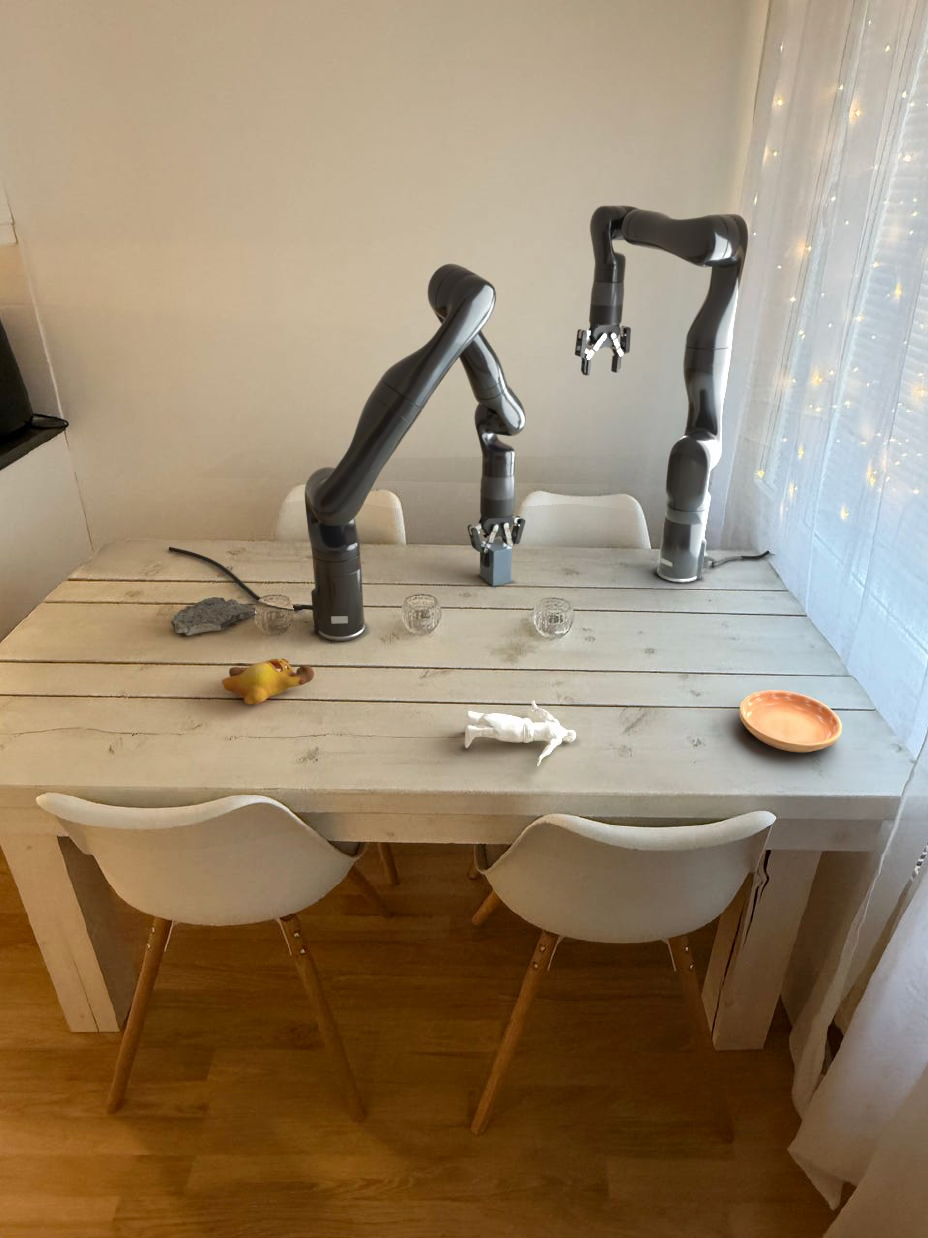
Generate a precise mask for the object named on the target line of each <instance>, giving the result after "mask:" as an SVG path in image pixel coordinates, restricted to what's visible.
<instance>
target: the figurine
mask: <svg viewBox="0 0 928 1238" xmlns="http://www.w3.org/2000/svg"><path fill="white" fill-rule="evenodd" d="M529 707H530V708H531V711H530V713H532V712H535V713H536V714H537V716H538V717H539V719H541V720H543V721H544V722H532V720H531V719H530V718H528V717H522V718H521V717H518V716H514V715H510V714H504V713H496V712H495V713H493V712H490V714H489V713H487V714H486V713H482V712H475V711H472V710H471V711H470V710H468V711H467V712H466V719H465V724H464V732H465V734H464V747H465V748H466V749H468V748H469V747H470V745H471V744H472V742H473V740H474V739H475V738H482V737H483V738H484V737H485V738H492V739H495V740H498V741H499V742H509V743H522V742H523V743H525V744H530V743H531V742H533V741H544V742H547V743H548V744H547V745H546V746H545V748H544V749H543V751H542V752H541V754H540V755H539V757H538V758H537V762H536V767H539V766H540V765H541V761H542V760H543V758H545V757H547V756H549V755H550V754H551V753H552V751H553V750H554V749H555V748H556V747H557V746H559V745H561V744H562V742H563V741H565V742H570V743H571V742H574V740H575V739H576V738H577V737H576V736H577V734H576V732H575V730H574V729H565V727H563V726H561V725H560V722H559V720H558V719H557V718H554V717H553V715H552V714H550V713H549V712H548V711H547V710H545V709H543V708H541V707H538V706H537V703H535V700H534V699H533V700H532V702H531V705H530V706H529ZM476 725H477V726H484V727H477V726H476Z"/></svg>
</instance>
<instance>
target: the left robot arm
mask: <svg viewBox="0 0 928 1238" xmlns="http://www.w3.org/2000/svg"><path fill="white" fill-rule="evenodd" d="M427 300H428V304H429V306H430V308H431V310H432V311H433V313H434V315H435V316H436V318H437V320H438V321H439V323H440V324H441V325H440V326H439V328H438V329H437V330H436V332H435V333H434V334H433V336H432V337H431V338H430V339H429V340H428V341H427V342H426V343H425V344H424V345H423V346H421V347H420V348H418V349H417V350H415V351H413V352H412V353H410V354H408V355H407V356H405V357H403V358H402V359H400V360H399V361H397V362H395V363H394V364H393V365H392V366H390V367H388V369H386V370H385V371H384V372H383V374H382V376H381V377H380V379H379V380H378V381H377V383H376V384H375V386H374V388H373V390H372V391H371V392H370V394H369V396H368V398H367V399H366V401H365V403H364V405H363V407H362V410H361V413H360V416H359V418H358V421H357V424H356V427H355V430H354V434H353V437H352V439H351V442H350V444H349V445H348V446H349V447H348V448H347V449H346V452H345V453H344V455H343V457H342V458H341V460H339V462H338V463H337V465H336V466H324V467H321V468H318V469H317V470H315V471H314V472H312V474H310V476H309V477H308V478H307V481H306V483H305V486H304V504H305V516H306V524H307V531H308V538H309V543H310V546H311V547H310V548H311V557H312V568H313V581H314V588H313V589H312V590H311V591H310V597H311V604H303V605H302V604H301V605H292V606H293V608H294V610H293V611H300V612H301V611H303V610H305V611H306V610H307V611H312V620H313V629H314V634H315V635H318V636H320V637H321V638H323V639H325V640H328V641H331V642H332V641H333V642H345V641H346V642H347V641H351V640H355V639H358V638H359V637H360V636H362V635H363V634H364V633H365V631H366V623H365V613H364V612H365V610H364V594H363V593H364V592H363V575H362V574H363V573H362V560H361V541H360V536H359V532H358V529H357V524H356V517H357V515H358V514H359V512H360V511H361V509H362V507H363V506H364V503H365V501H366V500H367V498H368V496H369V495H370V494H369V493H370V492H371V490H372V488H373V486H374V484H375V482H376V480H377V479H378V477H379V475H380V474H381V472H382V470H383V468H385V465H386V464H387V463H388V461H389V460H390V458H391V457H392V455H393V454H394V452H395V451H396V450H397V449H398V447H399V445H400V444H401V443H402V441H403V440H404V438H405V436H406V435H407V434H408V432H409V431H410V430H411V428H412V427H413V425H414V424H415V422H416V421H417V419H419V418H418V417H419V416H420V415H421V413H422V412H423V410H424V409H425V407H426V405H427V404H428V403H429V400H430V399H431V397H432V396H433V394H434V393H435V391H436V390H437V388H438V387H439V386H440V384H441V382H442V381H443V380H444V378H445V377H446V376H447V374H448V373H449V372H450V369H452V367H453V366H454V364H455V363H456V362H457V360H458V359H459V360H460V362H461V365H462V367H463V369H464V373H465V375H466V377H467V380H468V383H469V386H470V389H471V391H472V395H473V397H474V399H475V401H476V402H477V405H476V406H475V410H474V417H473V419H474V420H473V421H474V426H475V431H476V433H477V437H478V442H479V446H480V451H481V478H480V489H479V492H480V495H479V496H480V498H479V499H480V500H479V501H480V502H479V512H480V513H479V514H480V518H479V520H478V523H475V524H474V525H472V524H468V525H467V532H468V536H469V540H470V543H471V544H470V545H471V547H472V549H474V550H475V551H477V552H478V553H479V564H480V563H481V564H482V565H483V566H484V567H485V568H486V567H489V549H490V546H491V544H492V543H493V541H494V539H497V538H498V537H500V538H501V541H503V542H504V543H506V544H507V545H508V546H510V547H511V548H512V549H513V547H514V546H515V545H519V544H520V543H521V539H522V535H523V532H524V528H525V525H526V519H525V518H523V517H521V516H520V515H516V516H514V515H515V514H514V513H515V499H516V476H515V472H516V471H515V469H516V466H515V465H516V450H515V448H514V447H513V446H512V445H510V444H508V443H506V442H504V441H502V440H500V438H499V437H498V436H503V437H504V436H505V437H515V436H518V435H519V434H520V433H521V432H522V431H523V430H524V428H525V425H526V411H525V408H524V406H523V403H522V402H521V400H520V399H519V397H518V396H517V394H516V393H515V392H514V390H513V389H512V388H511V386H510V385H509V384H508V381H507V378H506V374H505V372H504V368H503V367H502V363H501V361H500V358H499V357H498V355H497V353H496V352H495V350H494V348H493V346H492V345H491V344H490V342H489V340H488V339H487V337H486V336H485V334H484V332H483V331H482V329H484V327H485V325H486V324H487V323H488V321H489V320H490V318H491V316H492V314H493V312H494V309H495V306H496V303H497V292H496V288H495V287H494V284H493V283H491V282H490V281H489V280H488V279H486V278H484V277H482V276H480V275H479V274H477V273H476V272H473V271H471V270H470V269H468V268H466V267H465V266H461V265H459V264H457V263H445V264H443V265H441V266H439V267H438V268H437V269H436V270H435V271H434V273H433V274H432V275H431V277H430V279H429V281H428V285H427ZM511 527H512V529H511ZM510 529H511V530H510ZM481 530H482V532H481ZM480 534H481V535H480ZM168 551H169V552H173V553H178V554H182V555H186V556H190V557H193V558H196V559H199V560H202V561H205V562H207V563H208V564H211V565H213V566H214V567H217V568H218V569H219V570H222V571H223V572H224V573H225V574H226V575H228V576H229V577H230V578H231V579H232V580H233V581H234V582H235V583H236V584H237V585H238V586H239V587H241V588H242V590H244V591H245V592H246V593H247V594H248V595H249V596H251V597H252V599H254V600H256V601H257V602H259V601H258V600H259V599H260V598H262V597H261V596H259V595H257V594H256V593H255V592H254V591H253V590H252V589H251V588H250V587H248V586H247V585H246V584H245V583H244V582H243V581H242V580H241V579H240V578H238V577H237V575H235V574H234V573H233V572H232V571H230V570H229V569H228V568H227V567H225V566H224V565H222V564H221V563H219V562H218V561H216V560H214V559H211V558H210V557H207V556H204V555H202V554H199V553H196V552H193V551H190V550H186V549H181V548H177V547H173V546H169V547H168Z"/></svg>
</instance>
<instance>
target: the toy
mask: <svg viewBox="0 0 928 1238" xmlns="http://www.w3.org/2000/svg"><path fill="white" fill-rule="evenodd" d="M228 671H229V672H228V674H229V677H225V678H222V679H221V684H222V686H223V689H224V690H225V691H228V692H230V693H235V694H237V695H238V696H240V697H241V698H242V699H243V700H244V703H245V704H246V705H259V704H261V703H263V702H265V701H266V700H267V699H269V698H271V697H274V696H277V695H280V694H282V693H283V692H284V691H286V690H287V689H290V688H296V687H299V686H303V685H305V684H307V683H310V682H311V681H313V679H314V677H315V671H314V669H313V667H311V666H310V665H308V664H301V665H300V666H299V667H298V668H297V669H296V671H295V672H294V670H293V667H292V666H291V664H289V661H288V660H286V658H271V659H268V660H266V661H265V660H264V661H260V662H255V663H254V664H251V665H250V666H247V667H245V666H244V667H239V666H232V667H230V668H229V670H228Z"/></svg>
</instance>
